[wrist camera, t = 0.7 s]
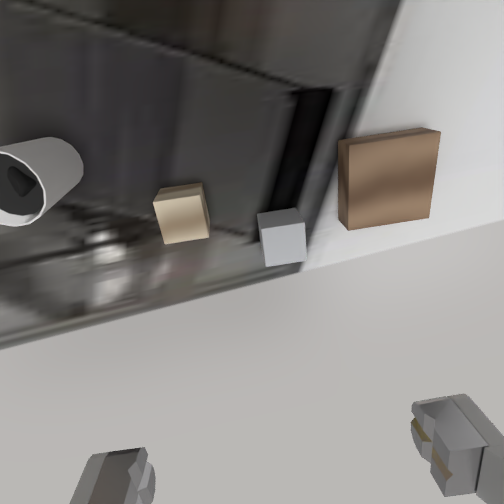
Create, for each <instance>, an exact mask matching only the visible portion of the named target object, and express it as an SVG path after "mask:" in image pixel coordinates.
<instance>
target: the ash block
mask: <svg viewBox="0 0 504 504" xmlns="http://www.w3.org/2000/svg"><path fill="white" fill-rule="evenodd" d="M153 205H154V208H155V212H156V215H157V219H158V222H159V225H160V229H161V232H162V236H163V239H164V243H165V244H170V243H176V242H182V241H189V240H195V239H202V238H208V237H209V228H210V219H209V214H208V209H207V204H206V199H205V194H204V189H203V185H202V182H201V183H195V184H188V185H181V186H175V187H168V188H162V189H160V190H159V192H158V194H157V196H156V197H155V199H154V201H153Z"/></svg>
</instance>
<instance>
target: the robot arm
mask: <svg viewBox="0 0 504 504" xmlns="http://www.w3.org/2000/svg"><path fill="white" fill-rule="evenodd" d="M412 413H413V414H414V416H415V418H414V419H413V420H412V422H411V433H412V436H413V440H414V443H415V445H416V447H417V449H418V451H419V453H420V455H421V456H422V457H423V458H424V459H426V460H427V461H429V462H430V463H431V471H430V472H431V474H432V476H433V478H434V479H435V481H436V483H437V485H438V486H439V488H440V490H441V491H442V493H443V495H444V497H448V496H456V495H463V494H470V493H476V495H477V496H478V497H480V498H481V499H482V500H483V501H484V502H486V503H487V504H504V436H503V435H502V434H501V433H500V431H499V430H498V429H497V428H496V427H495V426H494V425H493V423H491V421H490V420H489V419H488V418H487V417H486V416H485V414H484V413H483V412H482V411H481V410H480V409H479V407H478V406H477V405H476V404H475V403H474V402H473V401H472V400H471V398H470V397H469V396H467V395H466V394H459V395H453V396H447V397H439V398H433V399H428V400H422V401H416V402H414V403H413V404H412ZM147 456H148V454H147V451H146V449H145V447H142V448H135V449H127V450H120V451H113V452H106V453H99V454H93V455H92V456H91V457H90V459H89V460H88V461H87V464H86V466H85V468H84V471H83V473H82V476H81V478H80V480H79V483H78V485H77V487H76V490H75V492H74V495H73V497H72V499H71V501H70V504H151V503H152V502H153V498H154V493H155V472H154V468H153V466H152V464H150V463H149V462H147V461H146V460H147Z"/></svg>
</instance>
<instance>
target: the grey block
mask: <svg viewBox="0 0 504 504" xmlns="http://www.w3.org/2000/svg"><path fill="white" fill-rule="evenodd" d="M257 219H258V226H259V234H260V242H261V249H262V253H263V257H264V261H265V265H266V267H268V266H275V265H281V264H287V263H294V262H300V261H306V260H307V254H306V236H305V222H304V220H303V219H302V217H301V216H300V214H299V212H298V211H297V209H296V208H291V209H284V210H278V211H271V212H265V213H259V214H257Z"/></svg>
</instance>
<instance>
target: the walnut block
mask: <svg viewBox="0 0 504 504" xmlns="http://www.w3.org/2000/svg"><path fill="white" fill-rule="evenodd" d="M440 135H441V132H440V131H435V130H431V129H426V128H416V129H409V130H403V131H396V132H390V133H383V134H376V135H370V136H363V137H356V138H350V139H343V140H338V219H339V221H340V222H341V223H342V224H343V225H344V226H345V227H346V229H347V230H348V231H349V230H355V229H361V228H368V227H374V226H381V225H387V224H393V223H400V222H406V221H412V220H419V219H425V218H429V214H430V207H431V199H432V192H433V185H434V178H435V171H436V164H437V156H438V149H439V142H440Z"/></svg>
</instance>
